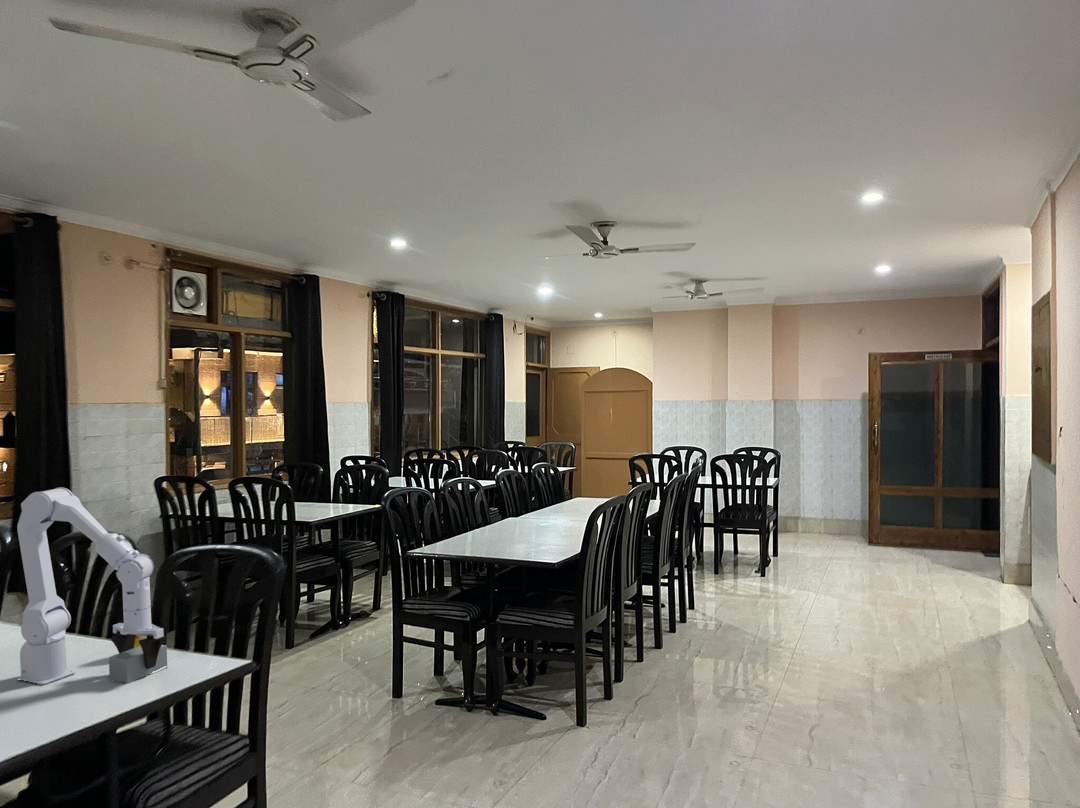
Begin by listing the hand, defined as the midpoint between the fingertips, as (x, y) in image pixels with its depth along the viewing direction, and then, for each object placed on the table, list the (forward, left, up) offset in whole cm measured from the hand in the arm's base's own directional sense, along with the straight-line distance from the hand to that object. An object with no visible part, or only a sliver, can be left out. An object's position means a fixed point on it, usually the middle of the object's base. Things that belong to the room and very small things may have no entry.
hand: (139, 665), depth 181 cm
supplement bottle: (-13, +10, -2) cm, 17 cm away
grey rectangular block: (0, 0, -2) cm, 2 cm away
